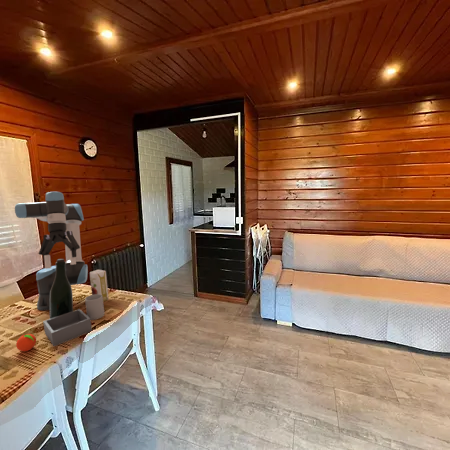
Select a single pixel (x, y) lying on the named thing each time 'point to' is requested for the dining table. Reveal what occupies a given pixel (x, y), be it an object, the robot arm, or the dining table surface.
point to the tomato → (26, 342)
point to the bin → (67, 327)
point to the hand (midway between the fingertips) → (60, 266)
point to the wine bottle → (60, 292)
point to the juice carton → (99, 283)
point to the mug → (94, 306)
